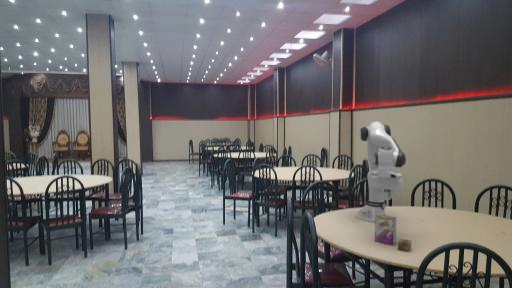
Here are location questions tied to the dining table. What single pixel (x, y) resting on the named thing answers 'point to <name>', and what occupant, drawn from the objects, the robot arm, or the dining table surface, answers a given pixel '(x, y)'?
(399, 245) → the walnut block
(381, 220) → the candy bar box
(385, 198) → the sage cube
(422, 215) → the dining table surface
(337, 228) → the dining table surface
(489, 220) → the dining table surface
